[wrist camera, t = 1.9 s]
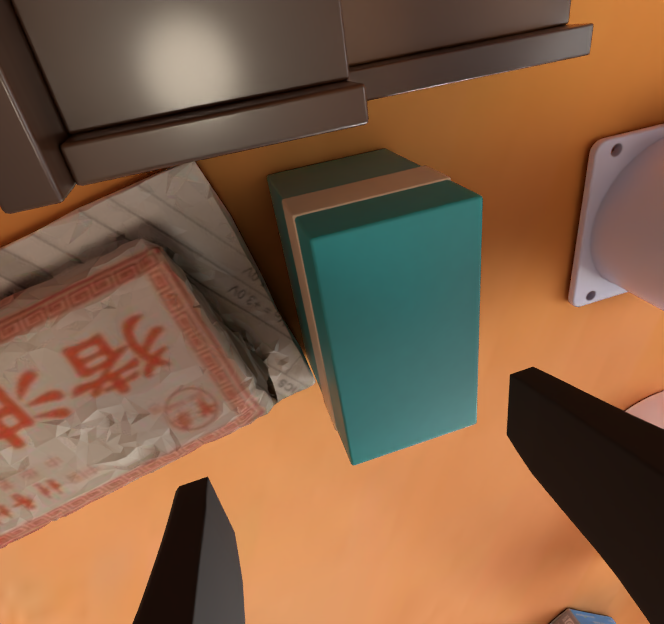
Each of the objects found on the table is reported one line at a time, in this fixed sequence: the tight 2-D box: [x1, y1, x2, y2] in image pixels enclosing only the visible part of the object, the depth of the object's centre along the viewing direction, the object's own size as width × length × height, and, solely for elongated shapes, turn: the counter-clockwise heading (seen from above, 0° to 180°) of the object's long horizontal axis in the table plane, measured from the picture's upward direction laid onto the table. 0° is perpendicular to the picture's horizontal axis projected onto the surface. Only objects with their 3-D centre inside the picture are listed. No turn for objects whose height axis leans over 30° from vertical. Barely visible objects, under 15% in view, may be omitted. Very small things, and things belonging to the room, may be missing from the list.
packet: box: [267, 149, 483, 465], centre depth 16 cm, size 5×8×6 cm, turn 9°
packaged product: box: [0, 161, 316, 549], centre depth 15 cm, size 18×5×10 cm
